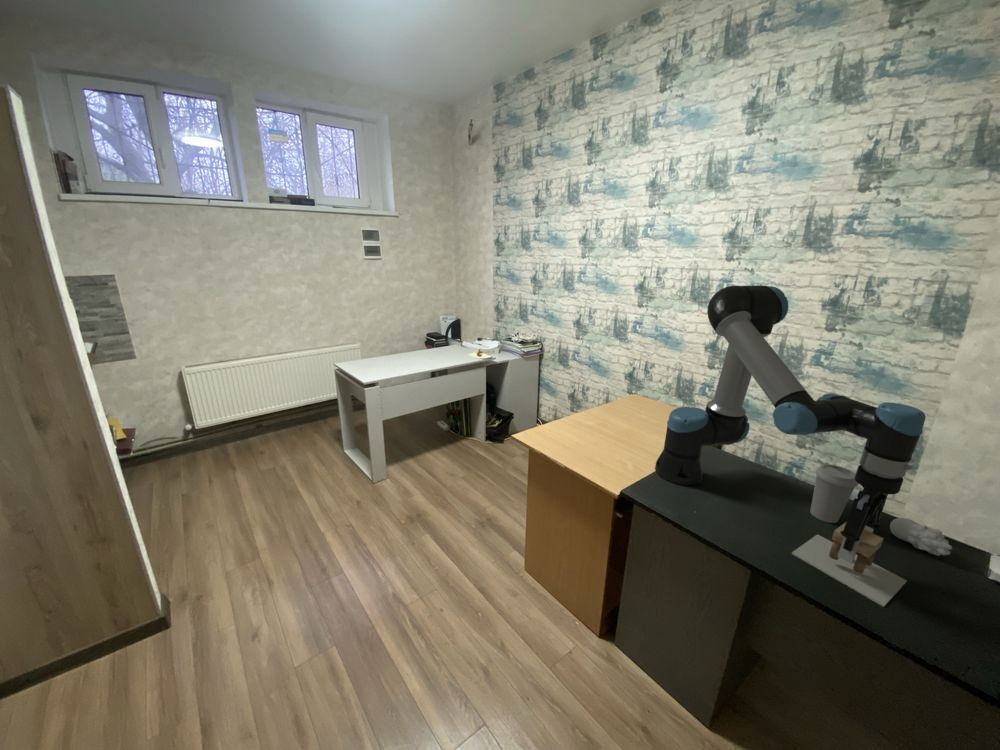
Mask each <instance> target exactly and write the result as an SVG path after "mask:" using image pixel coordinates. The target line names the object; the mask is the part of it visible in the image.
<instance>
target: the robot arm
mask: <svg viewBox="0 0 1000 750" xmlns="http://www.w3.org/2000/svg"><path fill="white" fill-rule="evenodd" d="M788 312H789V300H788V298H787V296H786V295H785V293H784V291H783V290H781V289H780V288H779V287H776V286H772V285H763V284H761V285H728V286H725V287H723V288H721V289H719V290H718V291H716V292H715V293H714V294H713V296H712V297H711V298H710V299H709V302H708V305H707V312H706V313H707V318H708V319H707V320H708V321H709V324H710V326H711V327H712V329H713V331H714V332H715V333H716V335H718V336H719V337H724V339H725V340H726V342H727V343H728V346H727V348H726V353H725V356H724V357H725V358H724V360H723V364H722V367H721V371H720V375H719V378H718V381H717V386H716V389H715V392H714V397H713V399H711V400H709V401H707V403H706V407H705V410H704V409H702V408H700V407H695V406H692V407H691V406H680V407H676V408H675V409H673V410H671V412H670V413H669V416H668V420H667V422H666V424H667V427H666V432H665V439H664V445H663V449H662V451H661V453H660V454H659V456H658V458H657V460H656V462H655V466H654V470H655V472H656V474H657V475H658V476H659V477H661V479H664V480H666V481H668V482H670V483H673V484H677V485H680V486H681V485H683V486H695V485H698V484H700V483H701V482H702V481H703V476H704V471H703V465H702V459H701V456H702V451H703V448H705V447H714V446H720V445H721V446H722V445H724V446H728V445H734V444H738V443H741V442H742V441H744V440H745V439H746V437H747V436H748V435H749V431H750V423H749V422H748V421H749V418H748V416H747V415H746V414H747V412H746V410H745V408H744V407H743V406H744V405H743V404H744V402H745V399H746V395H747V391H748V389H749V387H750V383H751V379H752V378H754V380H755V382H756V383H757V385H758V386H759V388H760V389H761V390H762V391H763V393H764V394H765V396H766V397H767V398H768V400H769V402H771V404H772V405H773V407H774V410H773V413H772V418H773V423H774V426H775V427H776V428H777V429H778V431H780V432H782V433H783V434H786V435H791V436H792V435H793V436H800V435H801V436H806V435H809V434H817V433H818V434H819V433H830V432H831V433H832V432H840V431H842V432H843V431H845V432H847V433H850V434H853V435H855V436H857V437H860V438H864V439H866V442H865V445H864V448H863V449H862V450H863V451H862V454H861V456H860V460H859V464H860V465H858V467H857V469H856V472H855V474H856V475H855V480H856V482H857V483H858V485H860V487H861V486H862V488H863V489H862V490H861V489H860V490H859V491H858V493H857V497H856V498H854V499H853V502H852V506H851V509H850V512H849V514H848V517H847V519H846V521H845V522H846V525H845V527H844V530H843V531H841V532H840V533H841V534H842V536H844V538H843V541H842V544H841V547H840V550H839V553H838V556H837V557H839V558H841V559H843V560H845V561H847V562H848V563H850V564H852V563H853V560H854V558H855V555H857V553H858V552H857V549H858V546H859V544H860V541H861V540H860V536H861V534H862V532H863V530H866V531H869V532H871V533H873V534H874V529H875V530H877V531H878V530H879V529H880V528H881V526H880V525H879V524H878V523H880V522H881V521H880V519H881V517H882V514H883V512H884V508H885V505H886V501H887V498H888V496H889V495H896V494H898V493H900V491H901V488H902V485H903V482H904V477H905V476H906V473H907V471H910V470H912V469H913V466H912V465H909V464H910V463H911V460H912V457H913V454H914V452H915V450H916V446H917V444H918V442H919V439H920V436H922V434H923V428H924V425H925V420H926V418H927V417H926V414H925V413H924V411H922V410H921V409H919V408H917V407H915V406H911V405H907V404H902V403H898V402H882V403H880V404H878V406H877V407H875V406H873V405H870V404H868V403H864V402H861V401H858V400H856V399H852V398H850V397H849V396H848V397H847V396H845V395H840V394H835V393H825V394H823V395H822V396H819V397H818V398H817V399H816V400H815V399H814V398H813V397H812V396H811V394H810V393H809V392H808V391H807V390H806V388H805V387H804V386H803V384H802V383H801V382H800V381H799V380H798V378H797V377H796V376H795V375H794V374H793V372H792V371H791V370H790V368H789V367H788V366H787V365H786V364H785V362H784V361H783V360H782V359H781V357H780V356H779V355H778V353H777V352H776V351H775V349H773V348H772V346H771V344H770V343H769V342H768V341H767V339H766V337H768V336H769V335H771V334H772V331H773V328H774V326H775V325H777V324H779V323H780V322H781V321H783V320H784V319H785V318H786V316H787V315H788Z"/></svg>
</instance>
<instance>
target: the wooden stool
mask: <svg viewBox="0 0 1000 750" xmlns="http://www.w3.org/2000/svg"><path fill="white" fill-rule="evenodd" d="M846 522H847V521H845V522H844V523H843V524H842V525H840V526H839V527H837V528H836V529H835V530H834V531H833V534H832V538H831V540H833V541H832V542H833V544H832V547H831V550H830V553H829V557H830V558H832V559H835V560H838V558H839V557H837V556H838V553H839V550H840V547H841V544H842V541H843V538H844V536H842V534H841V533H840V532H841V531H843V530H844V527H845V525H846ZM860 540H861V541H860V544H859V546H858V549H857V552H856V553H858V554H857V555H858V556H857V559H856V562H855V564H854V567H853V569H854V570H855V571H856V572H858V573H863V572H864V569H865V566H866V565H868V566H871V565H872V563H874V562H873V561H874V559H875V556H876V553H877V551H878V550H879V549H880V548H882V547H881V546H882V545H883V542H884V538H883V537H882V536H879V535H878V534H875V533H874V532H873V533H871V532H869V531H866V530H863V532H862V534H861V536H860Z"/></svg>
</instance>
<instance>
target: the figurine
mask: <svg viewBox="0 0 1000 750" xmlns="http://www.w3.org/2000/svg"><path fill="white" fill-rule="evenodd" d="M889 524H890V525H889V529H890V532H891V534H893V536H894V537H896V538H897V539H899V540H901V541H903V542H906V543H907V542H908V543H910V544H911V545H912V546H913V548H915V549H919V550H921V551H926V552H927V553H929V554H930V555H935V556H940V555H942V556H947V555H948V556H949V555H951V551H950V550H952V549H953V546H952V545H951V544H949V543H950V542H949V540H947V539H945V535H944V534H943V531H942V530H940V529H938V528H932V527H930V526H927V525H924V524H919V523H917V522H916V521H914V520H912V519H909V518H907V517H896V518H894V519H893V520H892V521H891V522H890V523H889Z"/></svg>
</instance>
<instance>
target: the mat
mask: <svg viewBox="0 0 1000 750" xmlns="http://www.w3.org/2000/svg"><path fill="white" fill-rule="evenodd" d="M832 544H833V541H831V540H829V539H828V538H825V537H823V536H822V535H819V534H816V535H814V536H813V537H812V538H810V539H809V540H807V541H806V542H805V543H804V544H802V545H800V546H799V547H798V548H796V549H794V550H793V551H792V552H791V555H793V556H795V557H796V558H798V559H800V560H802V561H803V562H805V563H807V564H808V565H810V566H812V567H814V568H815V569H818V570H819V571H821V572H822V573H824V574H826V575H827V576H829V577H831V578H833V579H834V580H836V581H837V582H839V583H841V584H843V585H845V586H846V585H847V586H846V587H848V588H850V589H851V590H853V589H854V590H853V591H855V592H856V593H859V594H860V595H862V596H864V597H865V596H866V597H865V598H867V599H869V600H871V601H873V602H874V603H876V604H878V605H880V606H881V607H883V608H884V607H885V606H887V605H888V604H889V602H890V601H891V600H892V599H893V597H894V596H895V595H896V594H897V593H898V592H899V591H900V590H901V589H902V588H903V587H904V586H905V584H906V583H907V581H908V580H906V579H905V578H903V577H901V576H900V575H897V574H895V573H893V572H891V571H889V570H888V569H885V568H883V567H882V566H880V565H878V564H876V563H874V562H872V565H871V566H868V565H866V566H865V569H864V572H863V573H858V572H856V571H855V570H854V569H853V567H854V564H855V562H856V559H857V556H858V554H856V555H855V558H854V560H853V563H852V564H850V563H848V562H847V561H845V560H843V559H841V558H838V560H835V559H832V558H830V557H829V553H830V550H831V547H832Z"/></svg>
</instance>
